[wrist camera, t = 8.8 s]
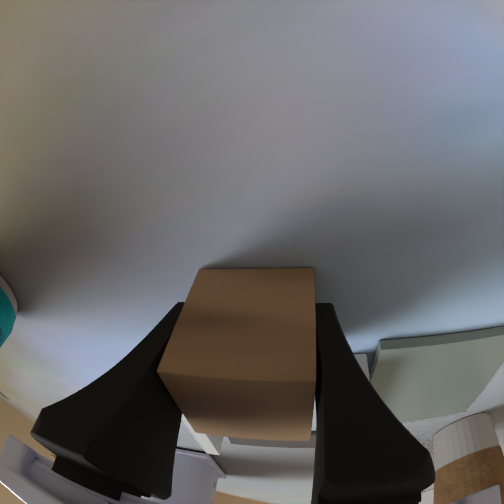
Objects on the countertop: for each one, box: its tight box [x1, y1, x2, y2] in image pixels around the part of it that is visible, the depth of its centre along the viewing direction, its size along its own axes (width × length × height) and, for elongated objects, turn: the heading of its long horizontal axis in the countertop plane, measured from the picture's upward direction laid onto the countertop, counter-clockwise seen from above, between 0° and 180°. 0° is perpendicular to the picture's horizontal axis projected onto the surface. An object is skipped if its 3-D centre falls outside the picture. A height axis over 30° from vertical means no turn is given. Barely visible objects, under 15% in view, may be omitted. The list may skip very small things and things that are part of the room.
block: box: [157, 268, 316, 441], centre depth 11 cm, size 4×4×5 cm
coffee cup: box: [433, 413, 504, 504], centre depth 13 cm, size 8×8×15 cm
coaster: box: [369, 326, 504, 423], centre depth 15 cm, size 9×9×1 cm
